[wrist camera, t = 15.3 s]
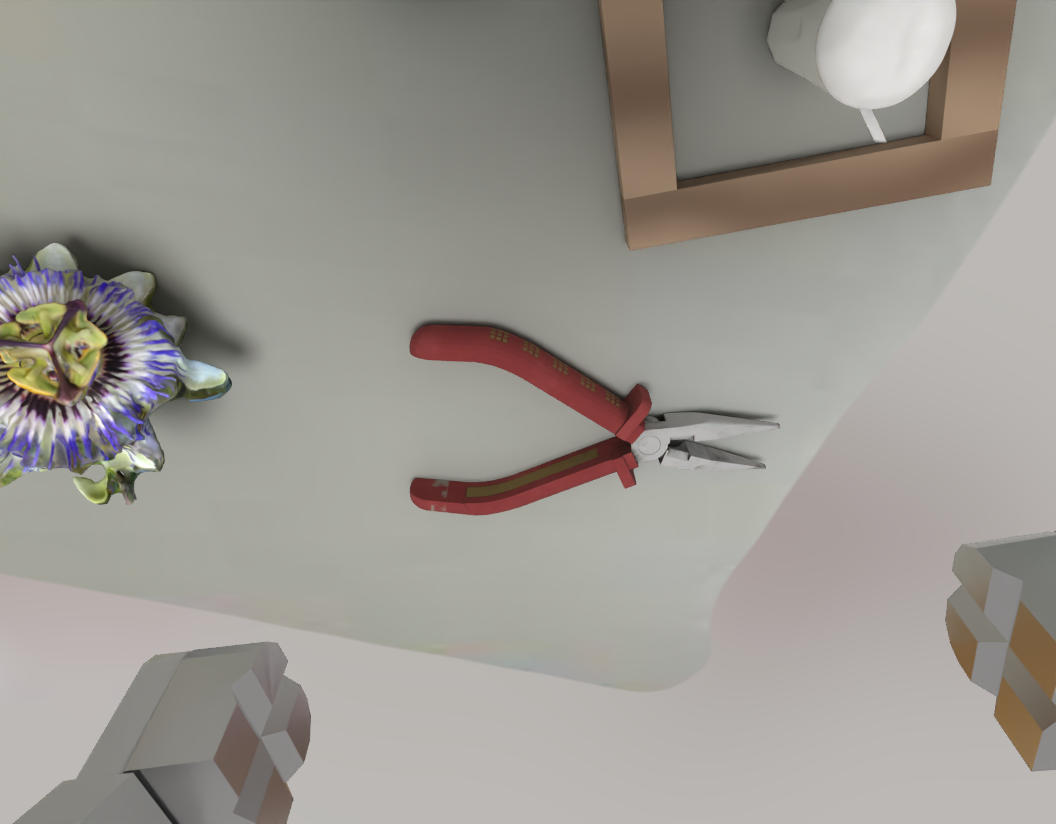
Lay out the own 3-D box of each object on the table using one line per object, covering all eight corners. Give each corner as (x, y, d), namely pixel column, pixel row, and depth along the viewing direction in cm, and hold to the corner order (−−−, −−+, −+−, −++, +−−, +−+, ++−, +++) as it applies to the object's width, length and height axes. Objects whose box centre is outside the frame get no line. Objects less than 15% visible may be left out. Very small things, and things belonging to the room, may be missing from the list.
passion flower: (188, 250, 42) (267, 347, 33) (136, 426, 45) (195, 555, 37) (-93, 179, 33) (-85, 286, 24) (-131, 406, 36) (-136, 570, 28)
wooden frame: (583, -120, 28) (586, -126, 27) (1023, -220, 27) (1049, -232, 26) (625, 241, 36) (629, 250, 34) (972, 178, 34) (990, 185, 33)
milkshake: (737, 101, 32) (814, 136, 24) (765, -36, 30) (865, -53, 21) (833, 110, 33) (945, 148, 24) (870, -26, 30) (1011, -38, 21)
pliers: (742, 514, 45) (754, 542, 43) (412, 492, 44) (406, 519, 42) (793, 343, 39) (810, 364, 37) (413, 313, 38) (406, 333, 36)
